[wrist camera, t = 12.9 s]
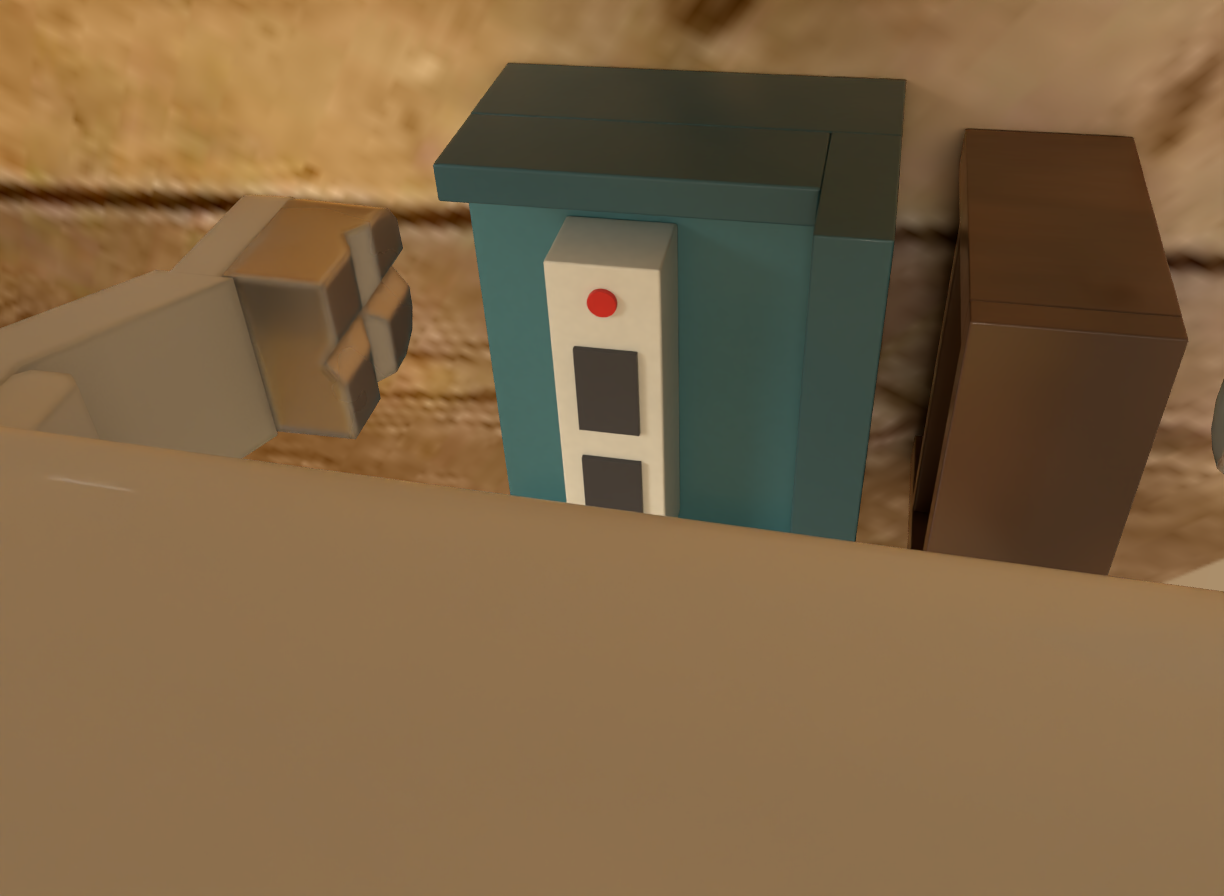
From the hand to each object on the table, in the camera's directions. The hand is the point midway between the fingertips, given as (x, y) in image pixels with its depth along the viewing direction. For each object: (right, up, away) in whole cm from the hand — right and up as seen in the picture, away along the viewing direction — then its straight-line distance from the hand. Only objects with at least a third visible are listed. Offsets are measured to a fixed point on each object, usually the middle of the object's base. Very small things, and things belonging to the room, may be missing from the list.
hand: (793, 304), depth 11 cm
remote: (-1, +1, +28) cm, 28 cm away
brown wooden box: (+12, +3, +29) cm, 31 cm away
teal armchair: (+2, +4, +31) cm, 31 cm away
